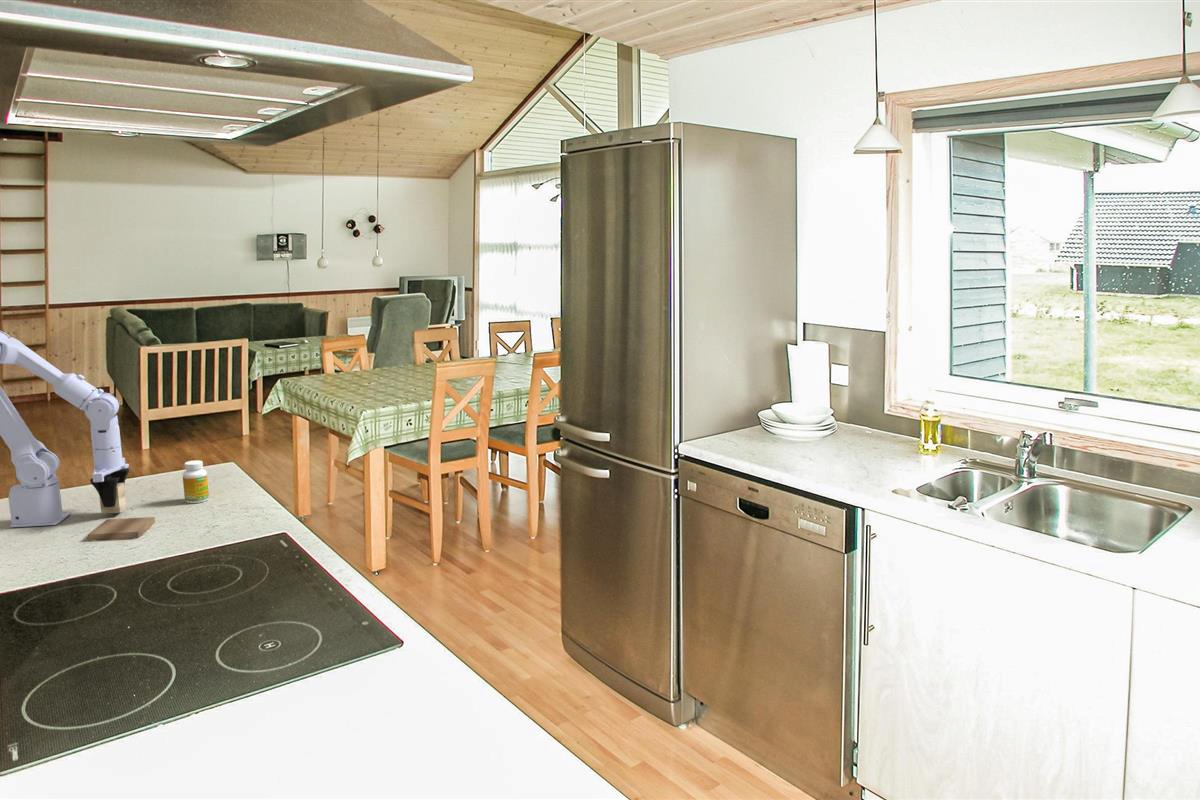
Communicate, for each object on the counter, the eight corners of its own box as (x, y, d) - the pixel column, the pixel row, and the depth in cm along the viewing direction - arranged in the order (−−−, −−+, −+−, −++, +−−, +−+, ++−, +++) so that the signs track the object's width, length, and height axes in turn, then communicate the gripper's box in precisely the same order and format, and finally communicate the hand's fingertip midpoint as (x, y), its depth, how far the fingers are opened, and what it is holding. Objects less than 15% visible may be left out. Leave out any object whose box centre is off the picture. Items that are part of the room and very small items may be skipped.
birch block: (101, 513, 197) (98, 488, 196) (107, 508, 201) (105, 483, 200) (120, 512, 198) (117, 487, 197) (126, 507, 202) (123, 482, 201)
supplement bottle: (199, 504, 207) (196, 465, 205) (180, 503, 208) (176, 464, 206) (213, 498, 212) (210, 460, 210) (194, 496, 213) (191, 459, 212)
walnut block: (88, 543, 183) (87, 534, 182) (107, 527, 192) (106, 519, 192) (138, 540, 184) (137, 531, 184) (155, 525, 194) (154, 516, 194)
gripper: (114, 453, 190) (120, 512, 193) (136, 438, 204) (142, 493, 207) (79, 455, 189) (86, 514, 192) (104, 440, 203) (110, 495, 206)
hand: (113, 503), depth 199 cm, fingers closed on birch block, 4 cm apart
